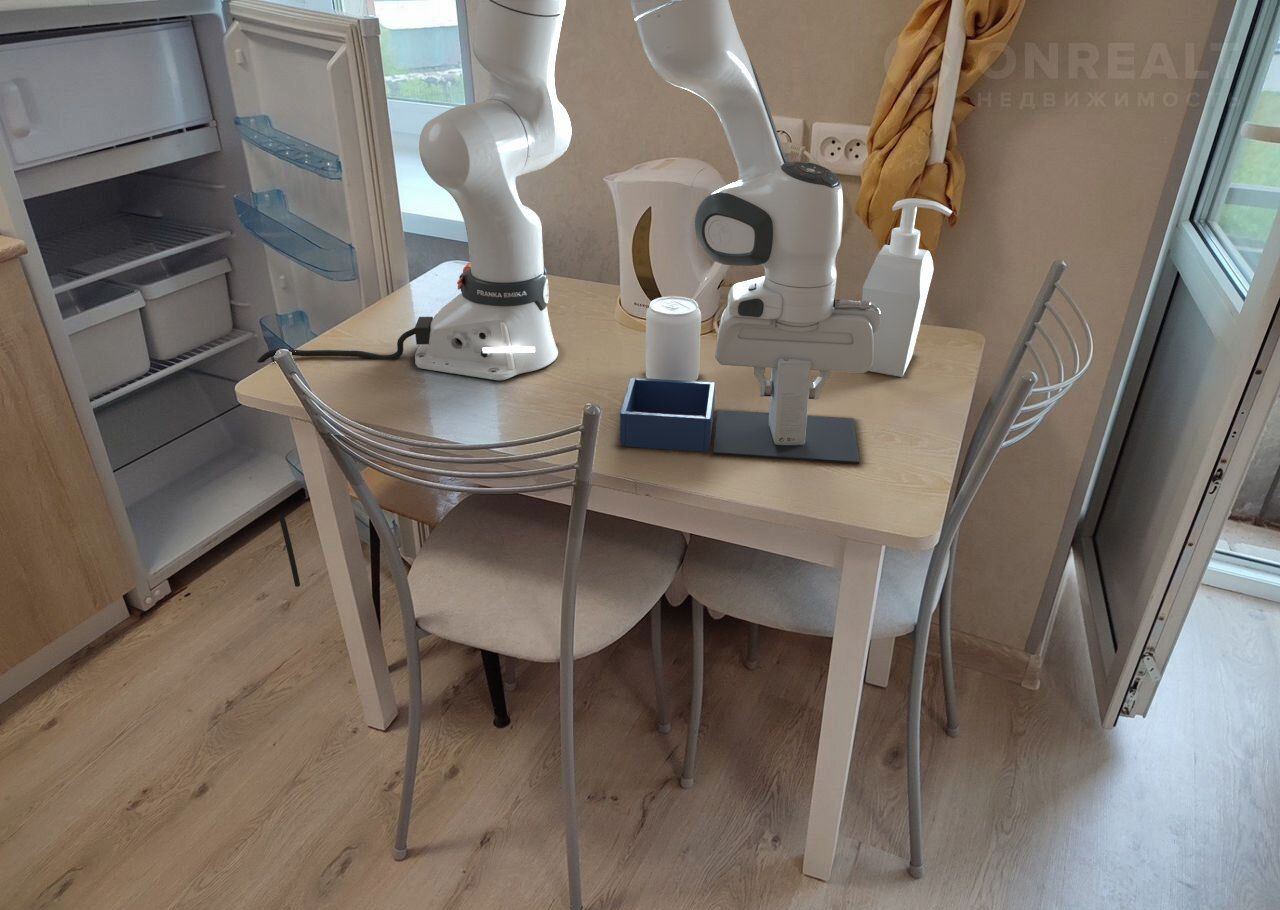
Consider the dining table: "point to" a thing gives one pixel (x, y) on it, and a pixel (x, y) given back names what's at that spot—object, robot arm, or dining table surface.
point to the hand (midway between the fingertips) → (789, 396)
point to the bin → (667, 427)
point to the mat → (754, 439)
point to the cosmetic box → (789, 401)
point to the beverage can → (673, 339)
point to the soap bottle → (900, 290)
